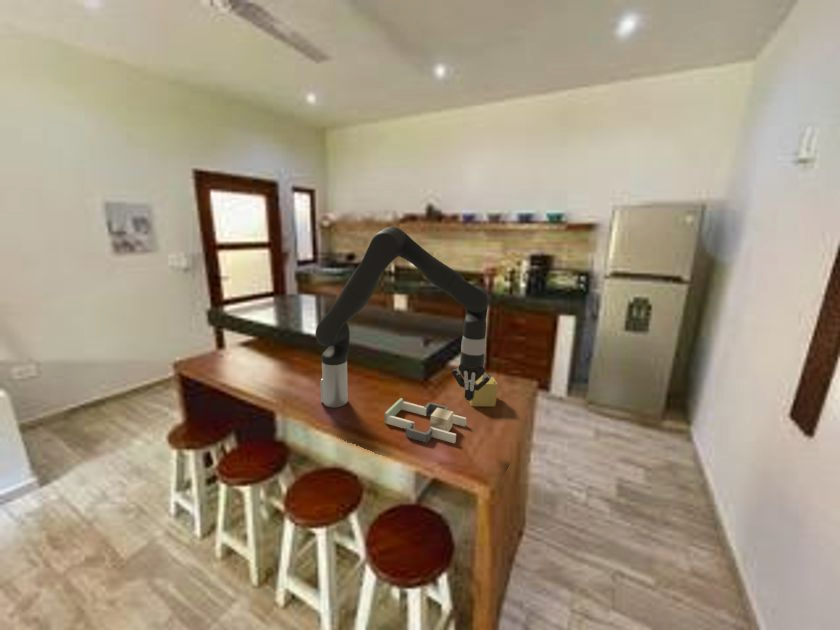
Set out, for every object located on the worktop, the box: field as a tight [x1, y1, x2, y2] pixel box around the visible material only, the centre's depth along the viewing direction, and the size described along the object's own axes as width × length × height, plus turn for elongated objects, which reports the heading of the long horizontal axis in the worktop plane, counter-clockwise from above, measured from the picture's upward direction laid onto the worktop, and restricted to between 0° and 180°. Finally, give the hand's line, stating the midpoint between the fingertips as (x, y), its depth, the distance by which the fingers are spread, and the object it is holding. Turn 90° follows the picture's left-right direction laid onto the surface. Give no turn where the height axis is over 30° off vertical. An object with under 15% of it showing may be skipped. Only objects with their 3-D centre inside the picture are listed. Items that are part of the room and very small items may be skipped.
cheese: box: [469, 375, 499, 408], centre depth 146 cm, size 10×11×10 cm
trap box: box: [384, 397, 467, 444], centre depth 129 cm, size 26×20×4 cm
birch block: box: [429, 408, 454, 432], centre depth 126 cm, size 6×6×6 cm
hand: (469, 399), depth 120 cm, fingers closed
